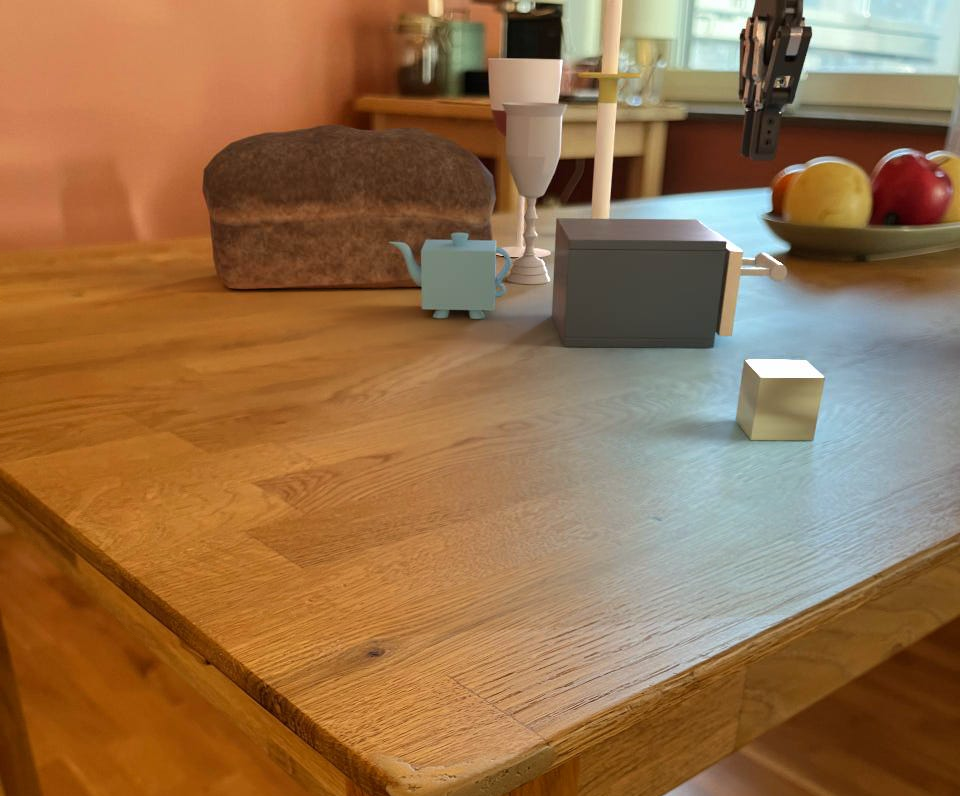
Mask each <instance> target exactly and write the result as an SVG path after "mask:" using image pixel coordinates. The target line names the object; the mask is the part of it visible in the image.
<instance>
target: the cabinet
mask: <svg viewBox="0 0 960 796" xmlns="http://www.w3.org/2000/svg"><path fill="white" fill-rule="evenodd" d="M713 231H714V230H712V229H710V228H709V227H708V226H706V225H705V224H703V223H702V222H701V221H699V220H698V219H676V218H675V219H674V218H667V219H666V218H661V219H660V218H609V219H591V218H584V217H583V218H580V217H579V218H578V217H577V218H576V217H574V218H572V217H571V218H569V217H557V218H556V219H555V237H554V240H555V241H554V261H553V278H552V279H553V282H552V283H553V285H552V300H551V301H552V303H551V316H552V319H553V321H554V325H555V328H556V329H557V332H558V335H559V338H560V340H561V344H562V346H563V347H564V348H660V349H661V348H663V349H664V348H674V349H675V348H677V349H679V348H681V349H683V348H684V349H685V348H687V349H696V348H697V349H713V348H714V347H715V339H716V334H717V333H716V325H717V317H718V309H719V301H720V293H721V286H722V278H723V270H724V262H725V254H726V246H727V241H726V240H724V239H723V238H721V237H720V236H719V235H717V234H716V233H714V232H713Z"/></svg>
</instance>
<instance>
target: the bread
mask: <svg viewBox="0 0 960 796" xmlns="http://www.w3.org/2000/svg"><path fill="white" fill-rule="evenodd" d="M201 189H202V194H203V198H204V200H205V204H206V207H207V211H208V216H209V226H210V227H209V228H210V238H211V239H210V240H211V245H212V259H213V263H214V267H215V272H216V275H217V276H218V278H219V279H220V280H221V282H222V284H223V285H224V286H225V287H226V288H227V289H238V290H239V289H240V290H244V289H245V290H246V289H247V290H250V289H385V288H388V289H389V288H410V287H412V288H413V287H415V288H416V287H417V288H418V287H420V286H418V285H417V284H416V283H415V282H414V281H413V280H412V278H411V277H410V275H409V272H408V269H407V266H406V262H405V259H404V257H403V254H402V253H401V251H400V250H399V249H398V248H397V247H396V246H394V245H392V244H390V243H389V242H403V243H405V244H407V245H408V246H409V248H410V249H411V251H412V254H413V257H414V259H415V261H416V263H417V264H418V265H419V266H420V267H421V250H422V248H423V245H424V243H425V241H426V240H452V238H451V234H452V233H467V234H468V239H467V240H487V241H494V240H493V227H492V219H491V218H492V215H493V212H494V208H495V203H496V201H497V196H496V189H495V182H494V175H493V174H492V173H491V172H490V171H489V169H488V168H487V167H486V166H485V165H484V164H483V162H482V161H481V160H480V159H479V158H478V156H477V155H476V154H474V153H472V152H470V151H469V150H468V149H466V148H465V147H463V146H462V145H461V144H459V143H458V142H456V141H453V140H451V139H449V138H445V137H443V136H441V135H438V134H435V133H433V132H431V131H428V130H425V129H423V128H420V127H419V126H414V127H397V128H390V129H383V130H371V129H369V130H368V129H357V128H354V127H350V126H346V125H342V124H339V123H338V124H326V125H325V124H324V125H318V126H314V127H310V128H301V129H295V130H289V131H288V130H287V131H275V132H273V131H270V132H268V131H267V132H262V133H259V134H255V135H250V136H246V137H244V138H241V139H238V140H235V141H232V142H230V143H229V144H228V145H226V146H224V148H223V149H221V150H220V151H218V152H217V153H216V154H215V155H214V156H213V157H212V159H210V161H209V162H208V164H207V165H206V166H205V167H204V169H203V177H202V187H201Z"/></svg>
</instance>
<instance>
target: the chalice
mask: <svg viewBox="0 0 960 796" xmlns="http://www.w3.org/2000/svg"><path fill="white" fill-rule="evenodd" d="M502 105H503V107H504V110H505V112H506V115H507V119H506V137H505V156H506V160H507V164H508V168H509V172H510V174H511V178H512V180H513V182H514V185H515V188H516V190H517V194H518V193H519V194H520V195H521V196H523V197H525V199H526V206H527V207H526V209H525V213H524V222H525V225H526V226H525V231H523V239H524V243H525V247H526V248H525V252H524V253H523V256H522V257H520V258H515V260H514V261H513V262H512V267H510V268H511V269H509V271H510V272H509V275H508V276H507V277H506V281H507V282H509V283H513V284H520V285H540V284H541V285H542V284H547V283H549V282H551V278H550V276H549V275H548V269H547V267H546V266H545V265H546V263H545V262H544V260H543V259H542V257H536V256H535V255H536V254H535V253H534V248H535V246H534V245H535V241H536V239H537V237H538V236H539V235H538V234H537V232H536V229H535V225H536V221H537V220H538V215H537V212H536V204H537V199H539V198H540V197H543V196H544V195H545V193H546V191H547V189H548V187H549V185H550V183H551V181H552V179H553V176H554V175H555V173H556V170H557V167H558V163H559V160H560V159H561V149H562V131H563V115H564V113H565V112H566V110H567V107H568V104H567V103H559V102H558V103H531V102H515V103H502Z"/></svg>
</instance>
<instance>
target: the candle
mask: <svg viewBox="0 0 960 796" xmlns="http://www.w3.org/2000/svg"><path fill="white" fill-rule="evenodd" d="M604 8H605V9H604V22H603V23H604V25H603V39H602V40H603V41H602V56H601V71H600V72H577V73H576V74H577V77H578V78H585V79H586V78H587V79H588V78H589V79H590V78H591V79H598V82H599V83H598V99H597V114H596V115H597V116H596V130H595V148H594V160H593V161H594V162H593V163H594V164H593V179H592V180H593V181H592V195H591V196H592V198H591V211H590V212H591V213H590V219H610V207H611V206H610V204H611V189H612V179H613V178H612V177H613V163H614V150H615V149H614V148H615V135H616V119H617V106H618V105H617V104H618V91H619V81H620V80H621V79H640V78H642V75H643V74H642V73H636V72H619V71H618V70H619V69H618V68H619V59H620V58H619V56H620V55H619V54H620V42H621V41H620V40H621V28H622V15H623V14H622V13H623V12H622V11H623V0H605V7H604Z"/></svg>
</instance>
